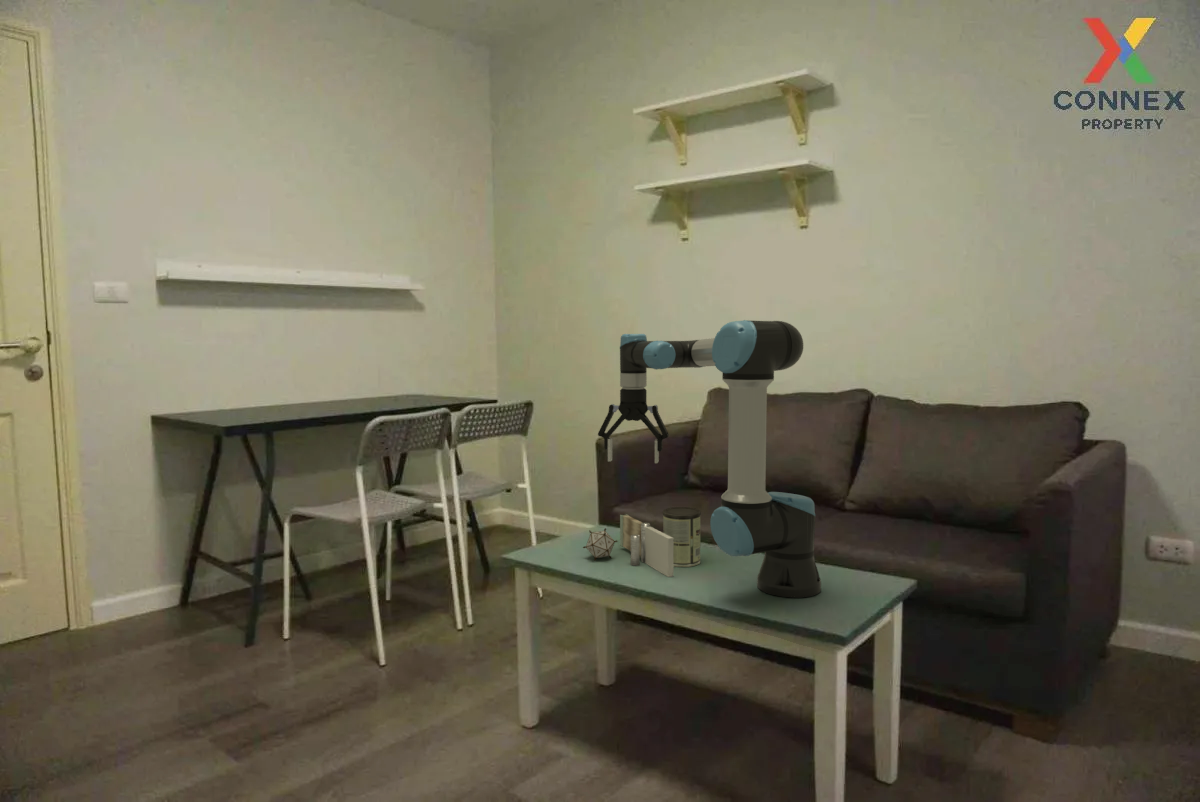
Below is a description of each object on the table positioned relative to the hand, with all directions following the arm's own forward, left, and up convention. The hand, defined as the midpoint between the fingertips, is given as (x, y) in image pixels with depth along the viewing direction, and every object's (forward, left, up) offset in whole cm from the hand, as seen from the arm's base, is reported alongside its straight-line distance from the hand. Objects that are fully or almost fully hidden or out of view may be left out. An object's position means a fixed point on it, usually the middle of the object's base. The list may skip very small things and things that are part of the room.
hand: (633, 461), depth 221 cm
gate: (-5, +3, -24) cm, 25 cm away
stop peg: (-15, +6, -25) cm, 30 cm away
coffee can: (-17, -6, -26) cm, 31 cm away
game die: (-5, +13, -26) cm, 29 cm away
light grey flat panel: (-21, +3, -25) cm, 33 cm away
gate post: (-13, +3, -25) cm, 29 cm away
